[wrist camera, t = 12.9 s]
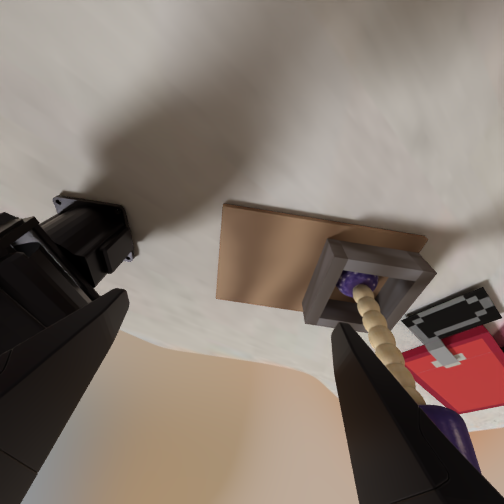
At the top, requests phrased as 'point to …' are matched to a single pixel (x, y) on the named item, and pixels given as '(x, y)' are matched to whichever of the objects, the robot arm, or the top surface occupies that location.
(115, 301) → the robot arm
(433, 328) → the red board with handle
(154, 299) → the top surface
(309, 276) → the mount board
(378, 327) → the toy lamp
